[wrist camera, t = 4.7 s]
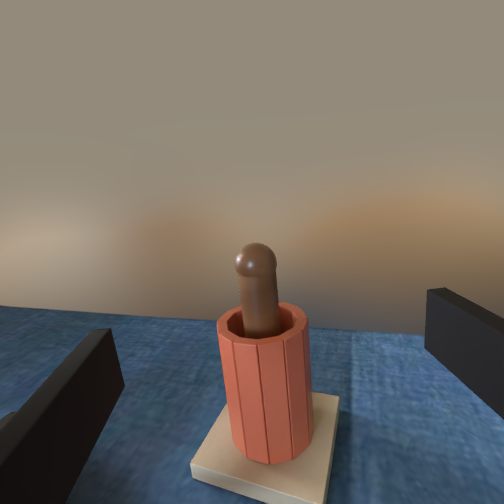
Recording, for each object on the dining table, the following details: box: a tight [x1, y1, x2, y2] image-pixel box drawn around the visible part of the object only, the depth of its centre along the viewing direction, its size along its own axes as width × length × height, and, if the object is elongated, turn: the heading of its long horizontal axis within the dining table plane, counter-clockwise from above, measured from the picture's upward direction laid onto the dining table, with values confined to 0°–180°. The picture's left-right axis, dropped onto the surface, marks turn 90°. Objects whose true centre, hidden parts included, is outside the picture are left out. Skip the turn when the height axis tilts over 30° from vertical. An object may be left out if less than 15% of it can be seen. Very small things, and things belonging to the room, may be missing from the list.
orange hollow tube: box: [217, 302, 314, 465], centre depth 24 cm, size 7×7×10 cm
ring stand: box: [190, 243, 340, 504], centre depth 24 cm, size 10×10×18 cm
